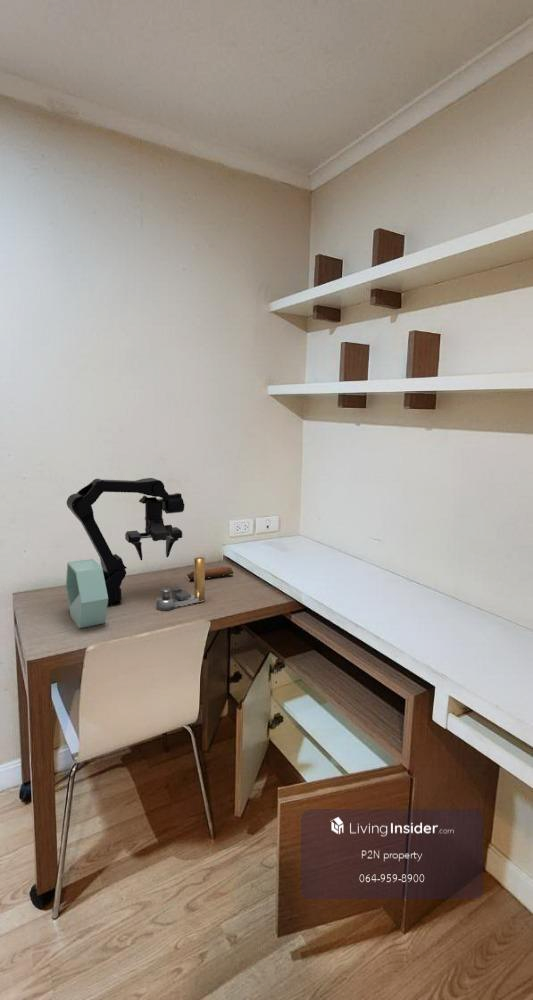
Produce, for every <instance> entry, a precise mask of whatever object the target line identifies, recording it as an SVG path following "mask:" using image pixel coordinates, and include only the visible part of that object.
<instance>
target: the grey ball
mask: <svg viewBox="0 0 533 1000" xmlns="http://www.w3.org/2000/svg"><path fill="white" fill-rule="evenodd" d="M160 593H161V596H162V599H163V600H168V599H170V596H171V594H170V593H172V588H169V587H162V588H160Z"/></svg>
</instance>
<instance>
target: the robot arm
mask: <svg viewBox="0 0 533 1000" xmlns="http://www.w3.org/2000/svg"><path fill="white" fill-rule="evenodd" d="M103 493H134V494H135V493H137V494H141V495H143V496H142V497H141V498H140V499H139V500H138V503H141V504H143V505H145V507H144V509H145V511H144V512H145V513H144V514H145V516H144V520H145V527H144V531H145V532H139V531H138V530H129V531H128V530H127V531H126V532H125V534H124V537H125V541H127V542H128V544H129V543H130V544H132V545H133V546H134V547H135V549H136V552H137V554H138V558H139V560H140V561H143V551H142V542H141V539H151V540H152V541H153V542H157V541H158V542H159V541H165V557H166V558H169V556H170V552H171V551H172V547H173V545H174V544H175V542H176V541H179V539H182V538H183V531H182V530H181V529H180V528H179V527H176V526H174V527H173V526H172V524H166V525H165V523H164V518H163V512H164V513H165V514H177V513H179V514H180V513H184V511H185V503H184V499H183V498H182V494H181V493H180V492H178V493H177V492H176V493H172V494H171V493H170V494H169V493H168V492H167V490H166V488H165V484H164V482H163V481H162V480H159V479H157V478H154V477H146V478H140V479H137V480H128V479H127V480H125V479H124V480H123V479H122V480H121V479H100V478H95V479H93V480H92V481H91V482H89V484H87V485H85V486H84V487H82V488H80V489H79V490H78V491H77V492H76V493H73V494H70V495H69V496H68V498H67V500H66V506H67V508H68V509H69V511H71V513H72V514H73V515H74V517H76V519H77V520H79V522H80V523H81V525H82V526H83V529H84V531H85V532H86V535H87V536H88V538H89V540H90V542H91V544H92V545H93V547H94V549H95V551H96V553H97V554H98V556H99V561H100V566H101V567H102V569H103V574H104V579H105V584H106V589H107V594H108V605H107V607H110V606H111V607H112V606H117V605H121V604H122V602H121V601H122V588H121V586H122V582H123V580H124V579H125V578H126V575H127V570H126V569H127V568H128V567H127V566H125V564H124V561H123V558H122V557H121V556H119V555H117V553H115V554H113V552H112V550H111V548H110V547H109V545H108V543H107V541H106V538H105V537H104V535H103V533H102V532H101V531H102V530H101V529H100V528H99V525H98V524H97V521H96V520H95V515H94V510H93V504H95V503H96V502H97V500H98V499H99V498H100V496H101V495H102V494H103ZM148 496H149V497H148ZM157 497H158V498H157Z"/></svg>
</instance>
